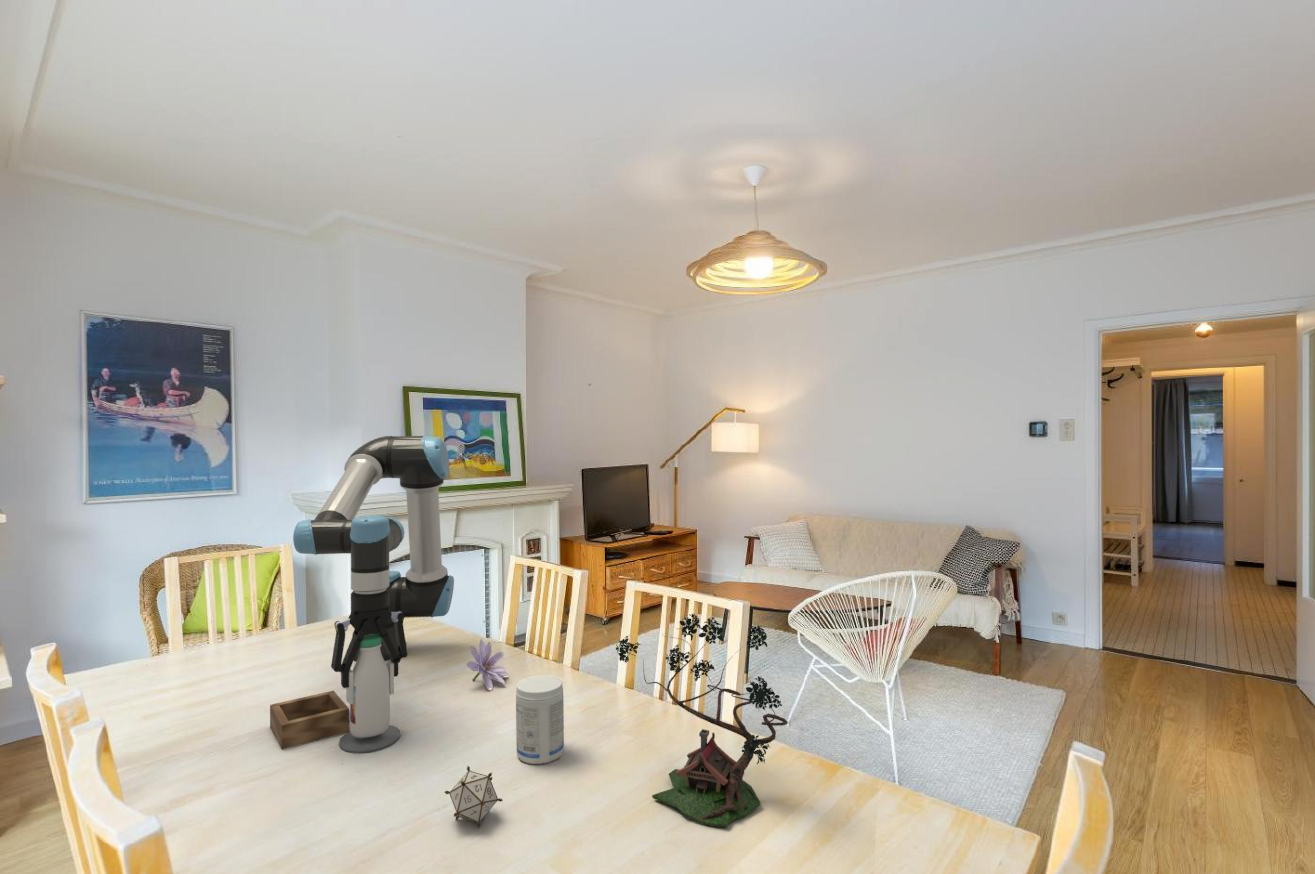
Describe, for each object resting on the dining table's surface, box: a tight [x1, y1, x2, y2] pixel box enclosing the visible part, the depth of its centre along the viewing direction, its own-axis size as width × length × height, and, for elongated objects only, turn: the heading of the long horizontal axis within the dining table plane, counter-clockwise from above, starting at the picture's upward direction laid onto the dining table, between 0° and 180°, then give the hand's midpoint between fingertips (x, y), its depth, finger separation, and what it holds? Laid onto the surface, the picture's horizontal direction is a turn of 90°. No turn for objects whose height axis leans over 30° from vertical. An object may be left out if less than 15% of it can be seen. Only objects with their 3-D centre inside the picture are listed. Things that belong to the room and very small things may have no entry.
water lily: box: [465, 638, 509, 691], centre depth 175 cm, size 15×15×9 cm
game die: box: [444, 765, 504, 829], centre depth 114 cm, size 9×8×10 cm
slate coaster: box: [338, 724, 401, 754], centre depth 143 cm, size 12×12×1 cm
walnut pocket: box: [269, 690, 350, 750], centre depth 148 cm, size 13×13×5 cm
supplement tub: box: [515, 674, 565, 765], centre depth 137 cm, size 10×10×15 cm
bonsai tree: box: [615, 613, 789, 828], centre depth 126 cm, size 35×24×32 cm
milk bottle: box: [349, 634, 391, 737], centre depth 143 cm, size 8×8×20 cm
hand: (370, 696), depth 143 cm, fingers closed on milk bottle, 7 cm apart
